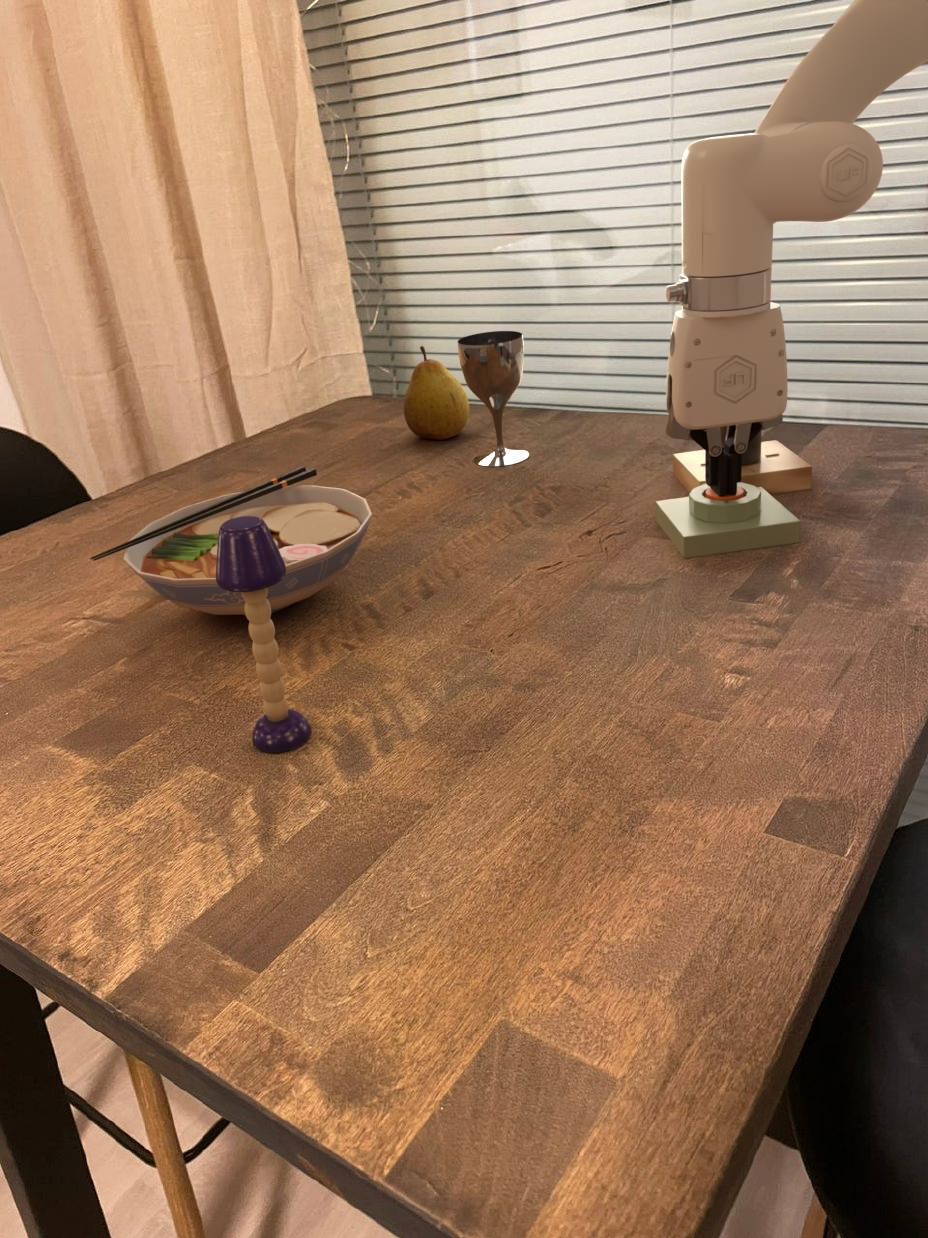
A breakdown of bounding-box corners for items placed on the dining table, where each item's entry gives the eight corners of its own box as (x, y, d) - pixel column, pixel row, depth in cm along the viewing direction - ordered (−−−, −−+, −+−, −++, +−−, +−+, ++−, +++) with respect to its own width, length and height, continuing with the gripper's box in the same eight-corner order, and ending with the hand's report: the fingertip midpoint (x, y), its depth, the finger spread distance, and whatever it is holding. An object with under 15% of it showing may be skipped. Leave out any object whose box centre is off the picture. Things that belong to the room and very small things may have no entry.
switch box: (761, 506, 99) (762, 469, 98) (799, 542, 91) (801, 502, 89) (655, 521, 99) (654, 484, 97) (683, 558, 90) (683, 518, 88)
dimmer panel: (775, 460, 111) (776, 438, 110) (811, 488, 102) (812, 464, 101) (672, 474, 111) (672, 452, 110) (699, 504, 102) (699, 480, 101)
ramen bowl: (221, 690, 78) (197, 599, 74) (89, 621, 93) (63, 542, 89) (441, 576, 93) (430, 495, 89) (297, 532, 108) (282, 461, 104)
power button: (736, 499, 95) (736, 482, 95) (749, 511, 92) (749, 494, 91) (700, 504, 95) (700, 487, 95) (712, 516, 92) (712, 499, 91)
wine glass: (529, 465, 120) (519, 342, 113) (466, 469, 121) (452, 347, 114) (535, 445, 127) (525, 328, 120) (475, 449, 128) (462, 333, 121)
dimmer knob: (752, 450, 108) (753, 403, 105) (766, 462, 104) (768, 413, 101) (713, 456, 107) (713, 409, 105) (726, 468, 103) (727, 419, 101)
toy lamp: (297, 711, 73) (252, 504, 66) (332, 733, 70) (288, 518, 63) (242, 739, 71) (188, 527, 63) (275, 763, 68) (223, 542, 60)
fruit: (464, 443, 131) (453, 353, 126) (400, 445, 134) (387, 357, 128) (478, 424, 139) (469, 339, 133) (417, 427, 141) (406, 343, 136)
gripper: (652, 309, 81) (656, 514, 89) (827, 287, 82) (815, 493, 90) (631, 296, 88) (636, 488, 96) (793, 276, 88) (784, 469, 97)
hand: (723, 490), depth 93 cm, fingers closed
